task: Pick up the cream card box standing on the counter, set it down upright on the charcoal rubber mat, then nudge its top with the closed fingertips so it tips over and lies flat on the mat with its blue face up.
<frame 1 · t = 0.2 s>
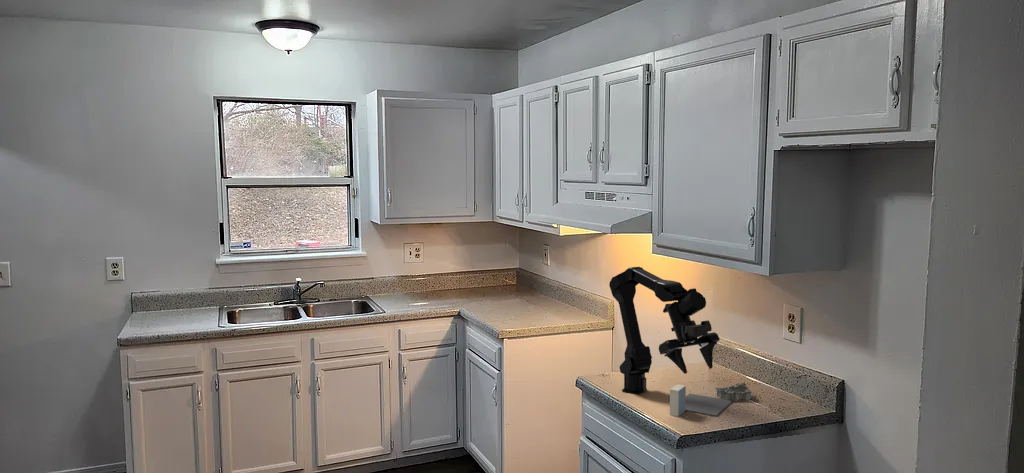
hand: (698, 370, 210), 15 cm above the counter, tool tilted 30°, fingers open, 9 cm apart
card box: (677, 413, 217), on the counter
mat: (702, 405, 224), on the counter
egg carton: (733, 398, 231), on the counter
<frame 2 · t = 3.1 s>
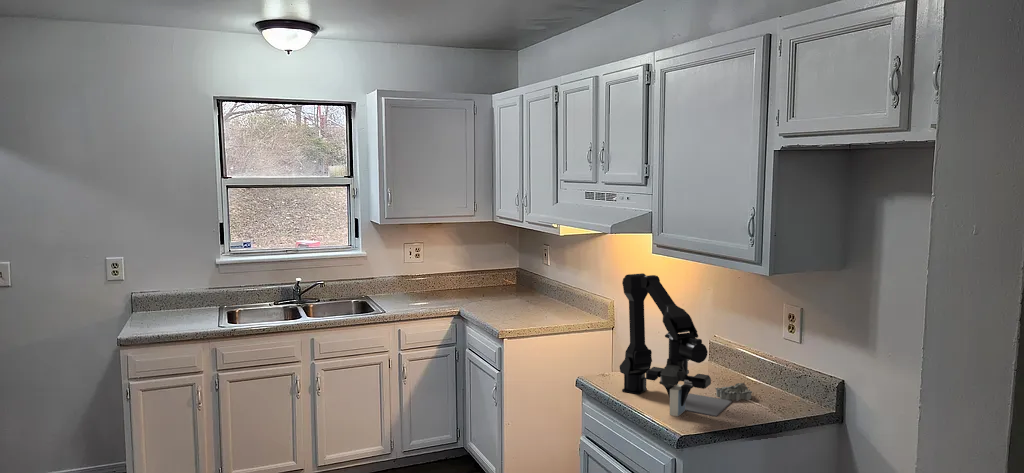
hand: (677, 404, 217), 3 cm above the counter, tool pointing down, fingers closed on card box, 3 cm apart
card box: (677, 412, 217), on the counter, touching gripper
everything else where it was.
when the fingers open (3 cm above the counter, at t = 7.3 s): card box stays where it is, resting on mat.
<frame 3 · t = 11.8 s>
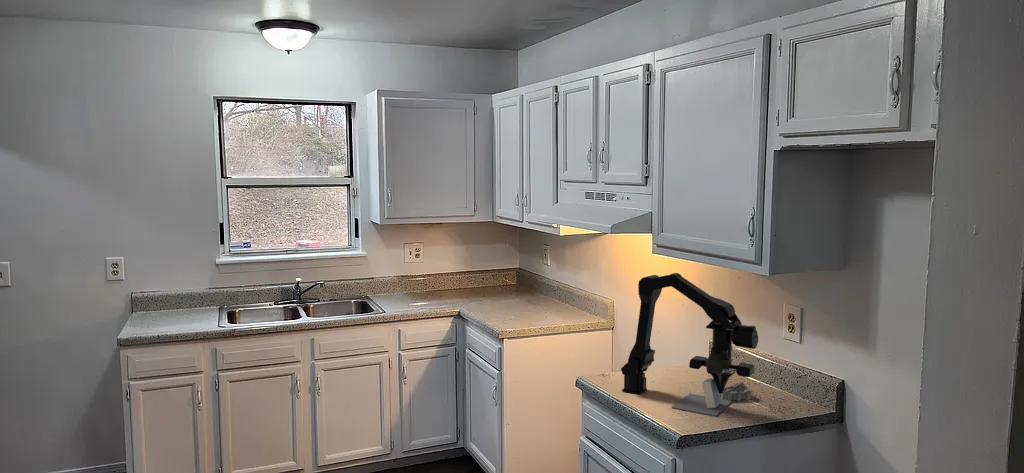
hand: (720, 393, 220), 5 cm above the counter, tool pointing down, fingers closed
card box: (714, 405, 221), point 1 cm above the counter, tilted 13°, touching mat
everything else where it was.
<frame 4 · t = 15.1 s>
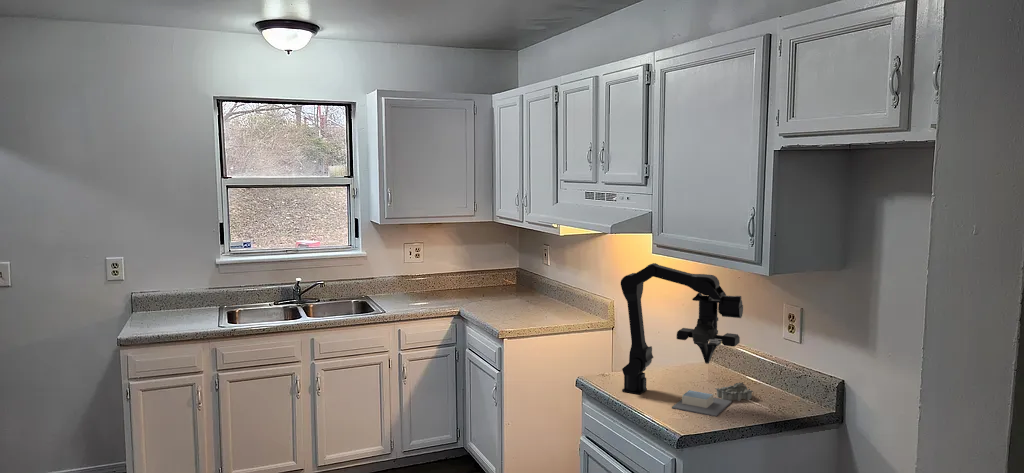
hand: (707, 363, 226), 12 cm above the counter, tool pointing down, fingers closed
card box: (710, 401, 222), point 2 cm above the counter, tilted 90°, touching mat
everything else where it was.
at the end: card box tilted 90°; card box inside the target area on the mat (2.5 cm from its centre), point 1.7 cm above the mat's base; the gripper is holding nothing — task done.
